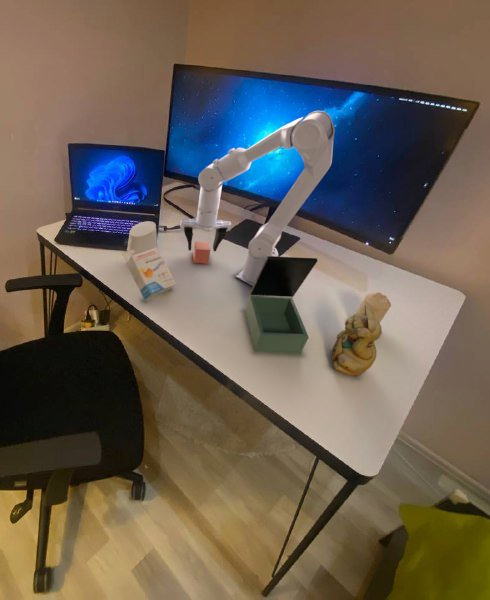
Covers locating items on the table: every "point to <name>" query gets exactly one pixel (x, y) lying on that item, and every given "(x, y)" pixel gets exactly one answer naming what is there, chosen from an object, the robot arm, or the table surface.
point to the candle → (375, 305)
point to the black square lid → (282, 276)
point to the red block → (201, 252)
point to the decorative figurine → (356, 344)
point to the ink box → (149, 272)
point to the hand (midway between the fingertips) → (201, 249)
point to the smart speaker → (142, 237)
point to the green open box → (275, 325)
